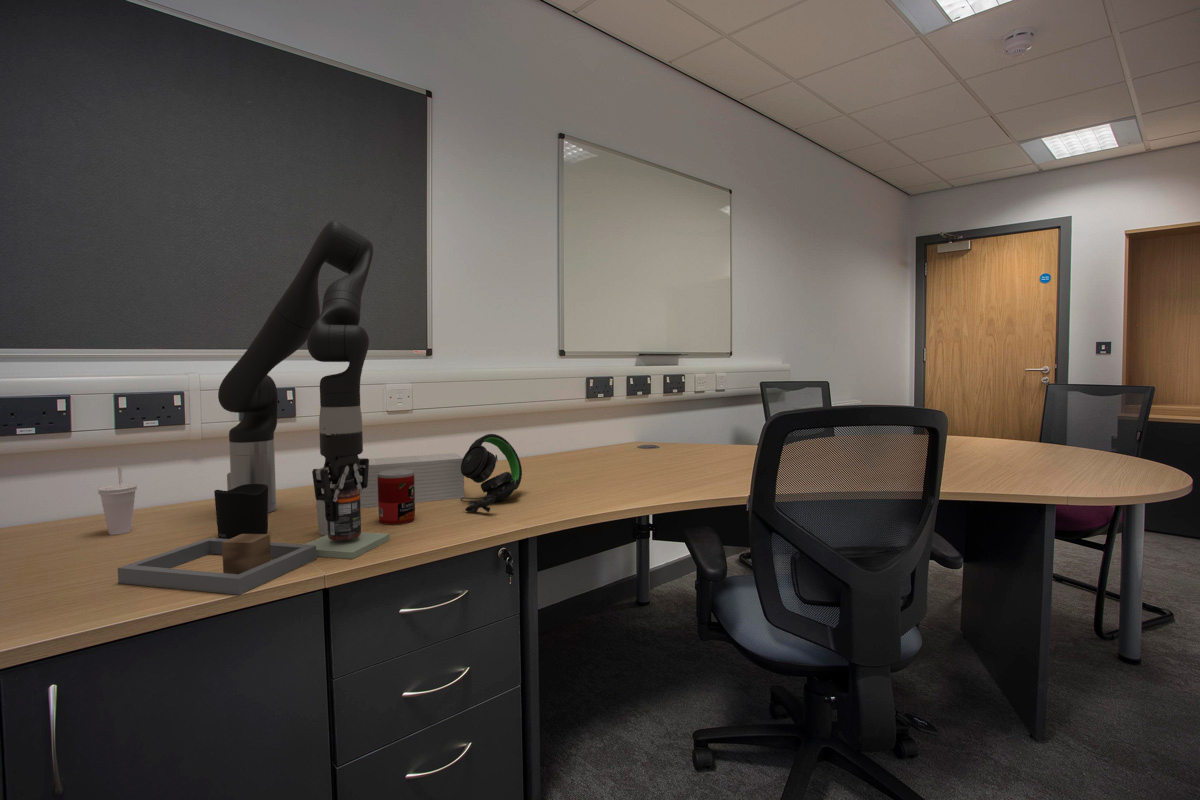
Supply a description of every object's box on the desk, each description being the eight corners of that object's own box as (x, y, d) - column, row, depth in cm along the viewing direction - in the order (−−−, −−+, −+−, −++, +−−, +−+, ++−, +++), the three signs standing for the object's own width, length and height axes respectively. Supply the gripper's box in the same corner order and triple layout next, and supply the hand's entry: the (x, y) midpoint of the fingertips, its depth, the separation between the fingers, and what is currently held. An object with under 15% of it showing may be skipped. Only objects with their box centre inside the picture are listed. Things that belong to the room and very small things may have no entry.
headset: (476, 540, 145) (514, 473, 167) (512, 525, 139) (547, 457, 161) (431, 493, 140) (477, 430, 162) (467, 475, 134) (509, 412, 156)
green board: (295, 554, 110) (295, 548, 110) (337, 536, 122) (337, 530, 122) (352, 558, 107) (352, 552, 107) (389, 539, 119) (389, 534, 119)
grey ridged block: (455, 491, 167) (454, 452, 166) (464, 498, 157) (463, 458, 157) (330, 502, 153) (329, 461, 152) (332, 512, 143) (330, 467, 143)
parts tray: (118, 583, 96) (117, 567, 96) (209, 550, 112) (209, 537, 112) (239, 594, 91) (238, 578, 90) (316, 558, 107) (316, 545, 107)
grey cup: (315, 537, 121) (313, 488, 120) (317, 529, 127) (316, 482, 127) (350, 534, 123) (349, 486, 123) (351, 526, 130) (350, 480, 129)
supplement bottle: (334, 533, 117) (332, 476, 117) (365, 532, 118) (364, 476, 117) (322, 542, 111) (321, 482, 111) (355, 541, 112) (354, 482, 111)
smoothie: (145, 530, 127) (142, 465, 126) (110, 538, 121) (107, 470, 120) (128, 526, 129) (125, 463, 129) (93, 534, 124) (89, 467, 123)
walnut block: (223, 578, 98) (222, 542, 98) (243, 567, 103) (241, 533, 103) (252, 578, 98) (251, 542, 98) (271, 568, 103) (269, 534, 102)
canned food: (404, 525, 130) (403, 475, 129) (371, 523, 131) (370, 474, 131) (421, 517, 137) (420, 469, 137) (390, 515, 139) (389, 468, 138)
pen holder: (221, 533, 124) (219, 486, 124) (272, 528, 128) (270, 482, 128) (211, 545, 116) (209, 494, 115) (266, 539, 119) (265, 490, 119)
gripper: (347, 425, 121) (349, 507, 122) (297, 433, 107) (300, 525, 108) (380, 426, 119) (382, 508, 120) (333, 434, 105) (336, 527, 106)
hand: (343, 516), depth 114 cm, fingers closed on supplement bottle, 6 cm apart
